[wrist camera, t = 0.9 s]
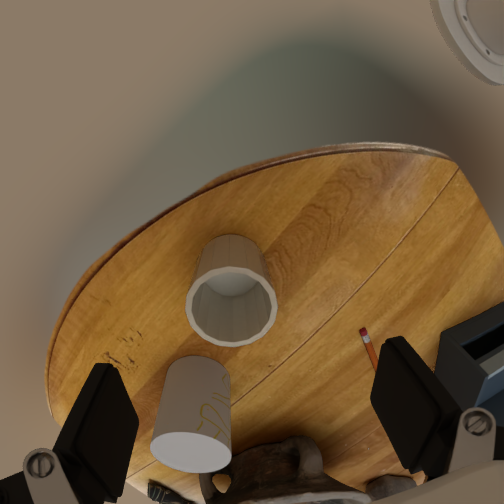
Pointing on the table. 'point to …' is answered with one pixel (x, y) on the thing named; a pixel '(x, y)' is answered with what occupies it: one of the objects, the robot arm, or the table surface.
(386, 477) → the decorative stone
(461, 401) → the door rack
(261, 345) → the table surface
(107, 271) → the table surface
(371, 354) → the pencil
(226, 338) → the cream cup
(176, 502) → the black flashlight
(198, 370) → the cup
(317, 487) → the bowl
